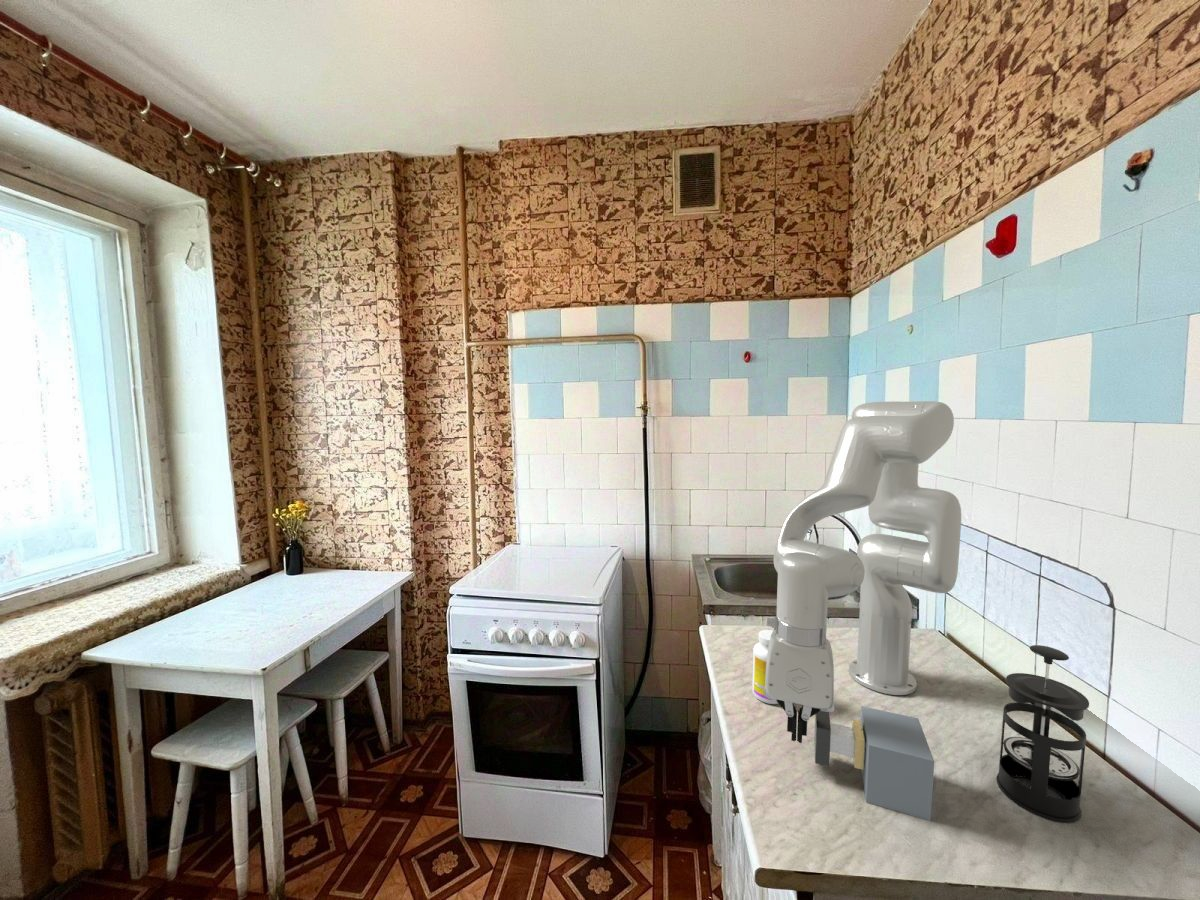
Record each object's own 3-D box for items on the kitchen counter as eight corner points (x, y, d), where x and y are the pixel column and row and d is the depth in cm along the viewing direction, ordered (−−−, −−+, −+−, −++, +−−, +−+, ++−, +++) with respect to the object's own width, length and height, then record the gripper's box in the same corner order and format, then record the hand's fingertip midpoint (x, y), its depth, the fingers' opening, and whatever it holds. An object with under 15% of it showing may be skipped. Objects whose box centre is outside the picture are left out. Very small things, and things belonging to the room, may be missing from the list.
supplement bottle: (789, 707, 92) (791, 644, 91) (754, 703, 93) (755, 641, 92) (783, 688, 98) (785, 629, 97) (750, 684, 100) (751, 626, 99)
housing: (858, 756, 79) (861, 705, 78) (915, 771, 76) (918, 718, 75) (866, 802, 70) (869, 745, 69) (930, 820, 67) (934, 761, 66)
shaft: (814, 738, 80) (815, 705, 79) (915, 764, 74) (917, 728, 73) (815, 763, 74) (816, 727, 74) (924, 792, 68) (926, 754, 68)
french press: (1083, 839, 64) (1098, 677, 62) (993, 799, 70) (1004, 652, 68) (1078, 788, 72) (1091, 645, 70) (998, 757, 79) (1008, 625, 77)
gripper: (750, 631, 76) (747, 738, 77) (855, 650, 70) (849, 766, 71) (754, 613, 83) (751, 712, 84) (850, 628, 77) (845, 734, 78)
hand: (796, 736), depth 78 cm, fingers closed
